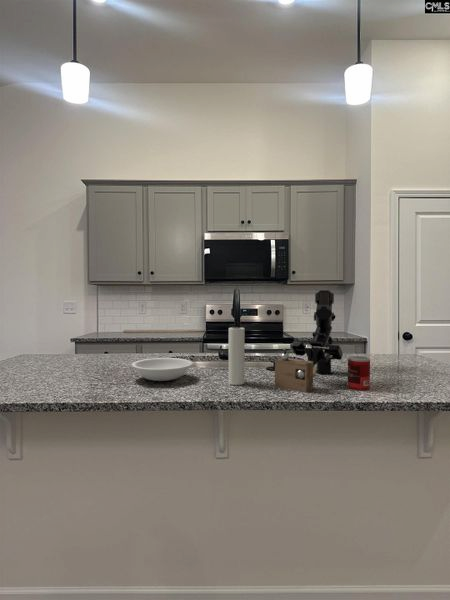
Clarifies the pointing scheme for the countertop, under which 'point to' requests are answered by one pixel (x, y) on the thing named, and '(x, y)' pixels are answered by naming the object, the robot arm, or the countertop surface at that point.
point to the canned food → (358, 373)
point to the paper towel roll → (236, 355)
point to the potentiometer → (284, 356)
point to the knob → (301, 373)
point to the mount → (293, 375)
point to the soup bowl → (162, 368)
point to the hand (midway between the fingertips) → (309, 368)
